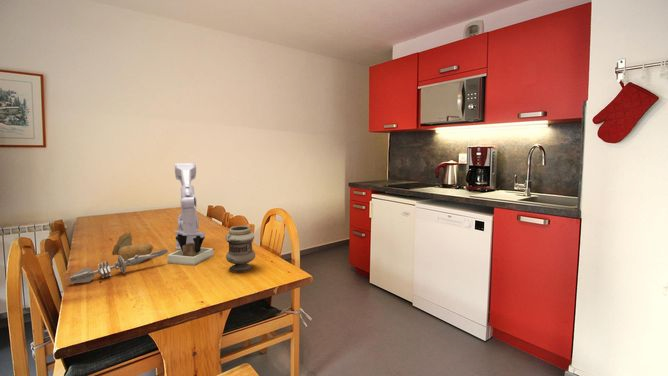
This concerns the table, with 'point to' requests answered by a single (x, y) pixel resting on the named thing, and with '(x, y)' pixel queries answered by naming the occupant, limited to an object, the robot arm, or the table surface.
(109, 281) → the table surface
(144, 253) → the potato
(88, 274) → the spaceship
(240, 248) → the apothecary jar
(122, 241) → the rock
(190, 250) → the walnut block
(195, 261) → the sage tray
